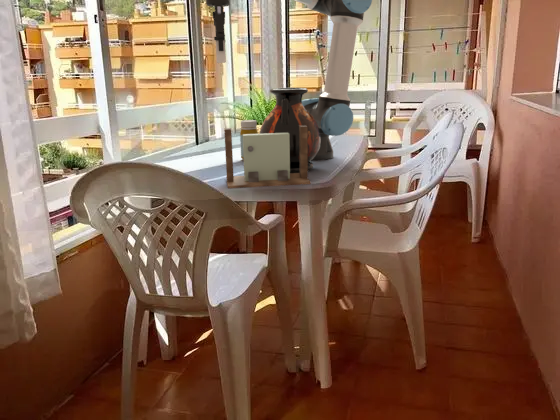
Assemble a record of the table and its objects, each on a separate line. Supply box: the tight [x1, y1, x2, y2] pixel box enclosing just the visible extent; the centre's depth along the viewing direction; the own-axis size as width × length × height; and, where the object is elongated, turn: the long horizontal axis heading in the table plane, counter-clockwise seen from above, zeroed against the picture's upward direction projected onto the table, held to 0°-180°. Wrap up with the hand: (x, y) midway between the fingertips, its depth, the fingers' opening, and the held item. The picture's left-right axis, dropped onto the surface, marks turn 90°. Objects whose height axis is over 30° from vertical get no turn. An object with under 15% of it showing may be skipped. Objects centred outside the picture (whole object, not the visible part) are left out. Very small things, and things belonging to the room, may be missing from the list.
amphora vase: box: [258, 87, 321, 174], centre depth 170 cm, size 22×22×28 cm
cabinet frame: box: [223, 125, 312, 189], centre depth 152 cm, size 25×13×18 cm, turn 98°
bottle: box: [239, 119, 259, 161], centre depth 195 cm, size 7×7×15 cm
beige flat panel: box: [243, 133, 291, 181], centre depth 152 cm, size 14×4×14 cm, turn 98°
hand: (221, 62), depth 162 cm, fingers open, 13 cm apart
